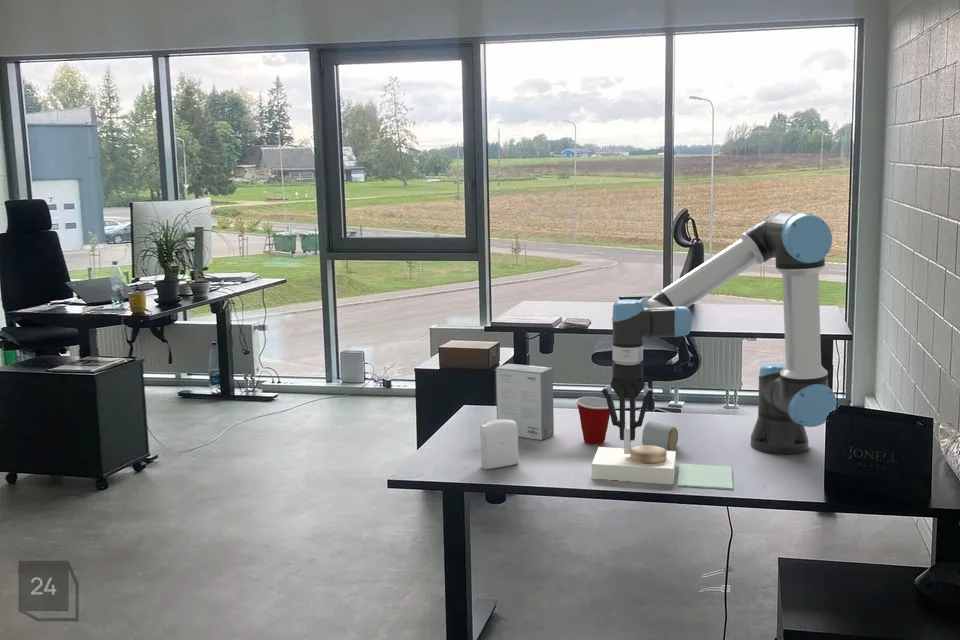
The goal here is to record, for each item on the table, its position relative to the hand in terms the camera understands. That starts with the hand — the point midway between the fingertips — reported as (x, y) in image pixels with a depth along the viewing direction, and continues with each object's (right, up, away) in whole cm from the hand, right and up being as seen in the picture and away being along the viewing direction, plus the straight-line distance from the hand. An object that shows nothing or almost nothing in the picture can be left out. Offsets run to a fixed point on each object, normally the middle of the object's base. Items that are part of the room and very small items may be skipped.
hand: (627, 452), depth 233 cm
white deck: (+2, -5, 0) cm, 6 cm away
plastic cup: (-5, -1, +26) cm, 27 cm away
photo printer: (-32, -5, +8) cm, 34 cm away
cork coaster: (+5, -1, -1) cm, 5 cm away
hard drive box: (-24, 0, +35) cm, 43 cm away
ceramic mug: (+12, -2, +20) cm, 23 cm away
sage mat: (+19, -6, -4) cm, 20 cm away
